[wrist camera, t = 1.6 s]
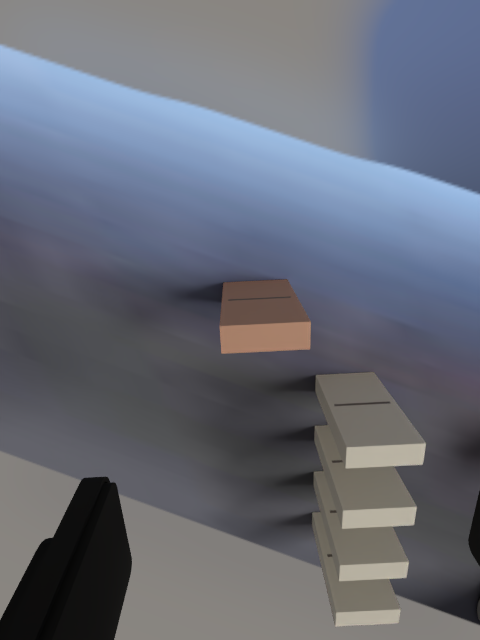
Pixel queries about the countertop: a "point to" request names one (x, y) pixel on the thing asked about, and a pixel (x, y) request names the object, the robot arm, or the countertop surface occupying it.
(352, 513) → the domino
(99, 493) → the robot arm
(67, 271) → the countertop surface
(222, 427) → the countertop surface
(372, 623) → the domino
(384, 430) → the domino
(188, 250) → the countertop surface
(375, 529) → the domino
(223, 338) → the domino
